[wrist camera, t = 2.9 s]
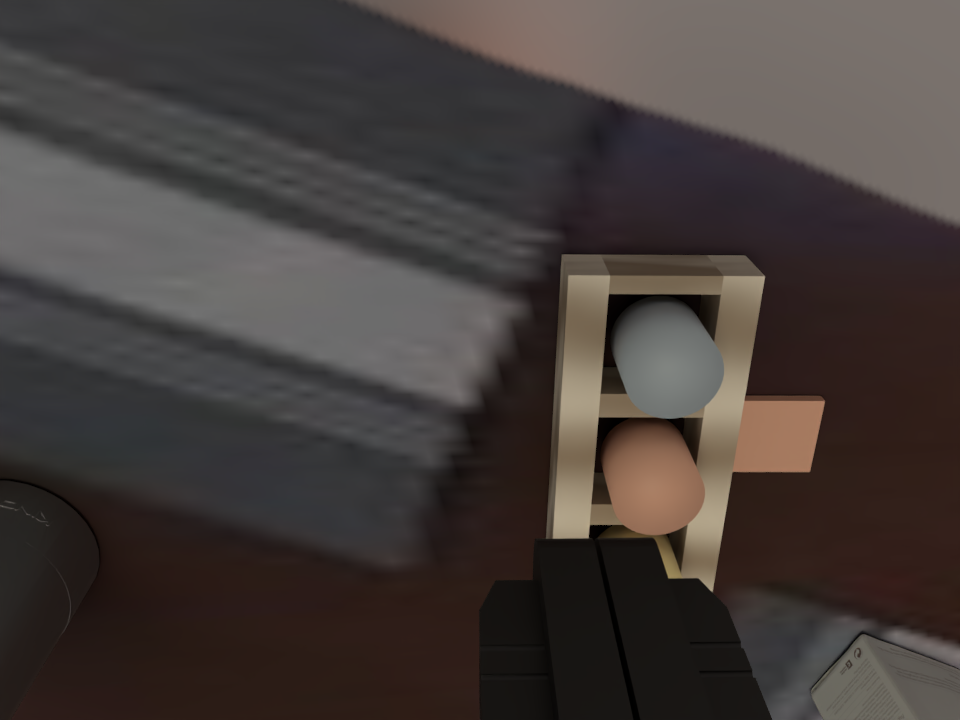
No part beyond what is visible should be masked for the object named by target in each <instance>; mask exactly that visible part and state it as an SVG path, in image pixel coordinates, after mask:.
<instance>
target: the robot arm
mask: <svg viewBox="0 0 960 720" xmlns="http://www.w3.org/2000/svg"><path fill="white" fill-rule="evenodd" d="M98 568H99V550H98V546H97V543H96V540H95V537H94V535H93V533H92V532H91V530H90V528H89V527H88V525H87V523H86V522H85V521H84V520H83V519H82V518H81V516H80V515H79V514H78V513H77V512H76V511H75V510H74V509H72V508H71V507H70V506H69V505H67V504H66V503H65V502H64V501H62V500H61V499H59V498H57V497H56V496H54V495H52V494H50V493H48V492H47V491H44V490H42V489H39V488H36V487H33V486H31V485H28V484H23V483H18V482H13V481H0V720H11V718H12V717H13V715H14V713H15V712H16V710H17V708H18V707H19V705H20V703H21V702H22V700H23V698H24V697H25V695H26V693H27V692H28V690H29V688H30V687H31V685H32V683H33V682H34V680H35V678H36V677H37V675H38V673H39V672H40V670H41V668H42V667H43V665H44V663H45V662H46V660H47V658H48V657H49V655H50V653H51V652H52V650H53V648H54V647H55V645H56V643H57V642H58V640H59V638H60V637H61V635H62V634H63V632H64V631H65V629H66V627H67V626H68V624H69V622H70V621H71V619H72V617H73V616H74V614H75V612H76V610H77V609H78V607H79V605H80V604H81V602H82V600H83V599H84V597H85V595H86V593H87V592H88V590H89V588H90V587H91V585H92V583H93V582H94V580H95V578H96V576H97V572H98ZM479 631H480V720H772V718H771V715H770V713H769V711H768V708H767V706H766V703H765V701H764V698H763V696H762V693H761V691H760V688H759V686H758V683H757V681H756V678H753V676H752V668H751V666H750V663H749V661H748V658H747V656H746V653H745V651H744V649H743V648H741V641H740V639H739V636H738V634H737V631H736V629H735V626H734V624H733V621H732V619H731V616H730V614H729V611H728V609H727V607H726V606H725V605H724V604H723V603H722V602H721V601H720V600H719V599H718V598H717V597H716V596H715V595H714V594H713V593H712V592H711V591H710V590H709V588H708V587H707V586H706V585H705V584H704V583H703V582H702V581H701V580H700V579H699V578H668V575H667V572H666V569H665V566H664V563H663V560H662V557H661V554H660V551H659V548H658V545H657V542H656V541H655V539H654V538H652V537H641V538H596V539H595V541H593V539H592V538H565V539H535V543H534V560H533V580H503V581H495V583H494V585H493V586H492V588H491V590H490V592H489V594H488V596H487V597H486V599H485V601H484V603H483V605H482V607H481V608H480V610H479Z"/></svg>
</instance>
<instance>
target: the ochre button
mask: <svg viewBox="0 0 960 720" xmlns="http://www.w3.org/2000/svg"><path fill="white" fill-rule="evenodd" d="M641 537H652V538H654V539H655V541H656V542H657V545H658V548H659V551H660V554H661V557H662V560H663V563H664V566H665V569H666V572H667V575H668V578H682V575H681V572H680V570H679V567H678V564H677V561H676V558H675V555H674V552H673V550H672V547H671V544H670V541H669V539H668V537H667V535H666V534H662V535H646V534H641V533H637V532H635V531H632V530H631V529H629V528H627V527H626V526H625V525H613V526H611V527H609V528H608V529H606V530H605V531H604V532H602V533H601V534H600V535H599V537H598V538H641Z"/></svg>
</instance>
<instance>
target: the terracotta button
mask: <svg viewBox="0 0 960 720" xmlns="http://www.w3.org/2000/svg"><path fill="white" fill-rule="evenodd" d="M600 460H601V465H602V468H603V472H604V476H605V480H606V483H607V487H608V491H609V495H610V498H611V502H612V506H613V509H614V512H615V514H616V516H617V518H618V519H619V521H620V522H621V523H622V524H623V525H625V526H626V527H627V528H629V529H631V530H632V531H635V532H637V533H641V534H646V535H662V534H667V533H671V532H674V531H677V530H679V529H681V528H683V527H684V526H686V525H687V524H688V523H690V522H691V521H692V520H693V519H694V518H695V517H696V516H697V514H698V513H699V511H700V510H701V508H702V505H703V503H704V499H705V487H704V483H703V480H702V478H701V476H700V474H699V472H698V469H697V467H696V465H695V463H694V461H693V458H692V456H691V454H690V452H689V449H688V447H687V445H686V443H685V441H684V438H683V436H682V434H681V433H680V431H679V430H678V429H677V427H676V426H674V425H673V424H672V423H671V422H669V421H667V420H665V419H663V418H658V417H633V418H630V419H627V420H625V421H623V422H621V423H619V424H618V425H616V426H615V427H614V428H613V429H612V430H611V431H610V432H609V433H608V434H607V436H606V437H605V439H604V441H603V443H602V446H601V450H600Z"/></svg>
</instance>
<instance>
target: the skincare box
mask: <svg viewBox="0 0 960 720" xmlns="http://www.w3.org/2000/svg"><path fill="white" fill-rule="evenodd" d="M811 694H812V699H813V701H814V703H815V704H816V706H817V708H818V710H819V712H820V714H821V716H822V718H823V720H960V670H959V669H957V668H954V667H951V666H949V665H946V664H943V663H940V662H938V661H935V660H932V659H930V658H927V657H924V656H922V655H919V654H916V653H914V652H911V651H908V650H906V649H903V648H900V647H898V646H895V645H892V644H889V643H886V642H883V641H880V640H878V639H875V638H873V637H870V636H868V635H865V634H862V635H860V636H859V637H858V638H857V639H856V640H855V641H854V643H853V644H852V645H851V646H850V648H849V649H848V650H847V651H846V653H845V654H844V655H843V656H842V657H841V658H840V659H839V660H838V661H837V662H836V663H835V664H834V665H833V666H832V667H831V668H830V669H829V670H828V671H827V673H826V674H825V675H824V676H823V677H822V678H821V679H820V680H819V681H818V683H817V684H816V685H815V686H814V687H813V688H812V690H811Z"/></svg>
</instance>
